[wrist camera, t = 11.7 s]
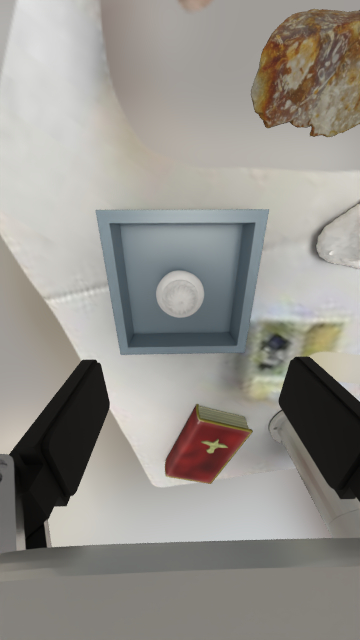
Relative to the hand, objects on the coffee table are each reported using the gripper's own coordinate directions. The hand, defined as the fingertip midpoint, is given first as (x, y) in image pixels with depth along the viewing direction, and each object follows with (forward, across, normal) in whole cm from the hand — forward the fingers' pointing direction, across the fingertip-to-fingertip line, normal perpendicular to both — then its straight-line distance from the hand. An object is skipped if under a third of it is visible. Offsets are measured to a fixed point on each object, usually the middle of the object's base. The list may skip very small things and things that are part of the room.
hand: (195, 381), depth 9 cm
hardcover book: (+21, -5, +37) cm, 43 cm away
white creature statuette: (+20, -22, -6) cm, 30 cm away
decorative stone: (+20, -14, -21) cm, 32 cm away
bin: (+20, 0, 0) cm, 20 cm away
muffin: (+19, 0, 0) cm, 19 cm away
